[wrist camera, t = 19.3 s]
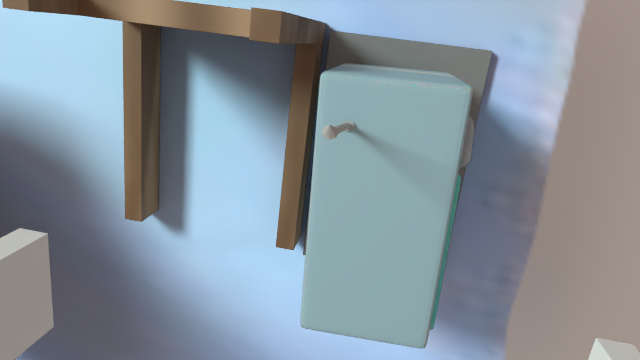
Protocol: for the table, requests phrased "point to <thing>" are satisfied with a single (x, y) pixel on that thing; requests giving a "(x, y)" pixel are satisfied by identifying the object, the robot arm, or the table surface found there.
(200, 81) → the table surface
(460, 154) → the radio
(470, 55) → the rubber mat
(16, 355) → the robot arm
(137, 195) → the shelf cradle
